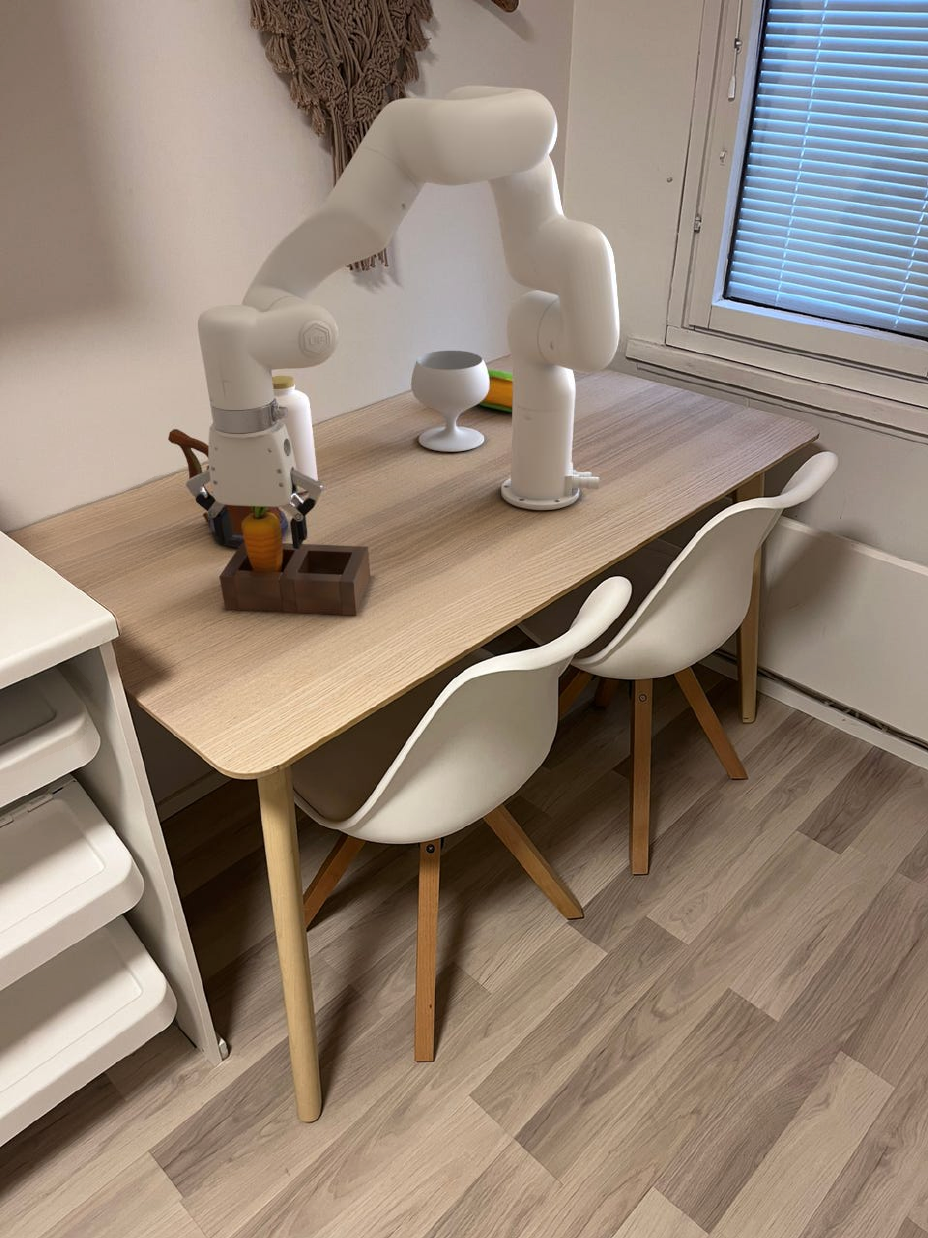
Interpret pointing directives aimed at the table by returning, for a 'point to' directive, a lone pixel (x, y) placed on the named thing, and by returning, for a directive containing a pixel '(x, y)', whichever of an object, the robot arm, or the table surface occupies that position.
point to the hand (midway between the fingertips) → (262, 542)
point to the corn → (499, 391)
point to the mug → (194, 469)
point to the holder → (300, 581)
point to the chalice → (450, 395)
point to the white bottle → (297, 425)
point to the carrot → (263, 540)
